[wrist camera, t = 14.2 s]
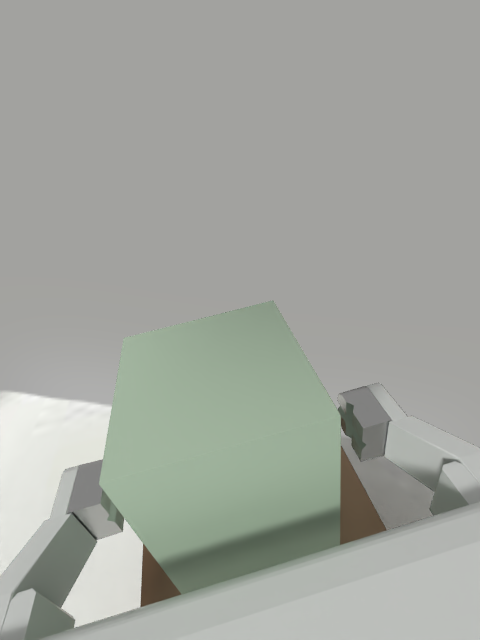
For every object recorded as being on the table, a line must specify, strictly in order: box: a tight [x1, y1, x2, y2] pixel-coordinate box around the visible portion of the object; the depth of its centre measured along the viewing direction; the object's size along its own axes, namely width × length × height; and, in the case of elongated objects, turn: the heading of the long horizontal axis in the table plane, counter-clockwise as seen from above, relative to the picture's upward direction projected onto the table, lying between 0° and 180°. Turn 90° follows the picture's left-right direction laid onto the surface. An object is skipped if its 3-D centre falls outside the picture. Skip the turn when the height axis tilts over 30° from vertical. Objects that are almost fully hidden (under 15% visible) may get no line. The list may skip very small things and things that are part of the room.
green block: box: [99, 301, 341, 594], centre depth 12 cm, size 5×5×11 cm
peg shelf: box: [141, 446, 386, 607], centre depth 17 cm, size 11×12×8 cm
